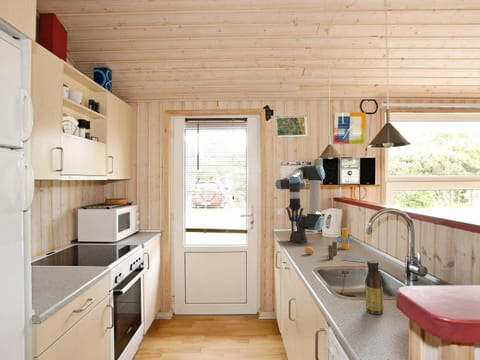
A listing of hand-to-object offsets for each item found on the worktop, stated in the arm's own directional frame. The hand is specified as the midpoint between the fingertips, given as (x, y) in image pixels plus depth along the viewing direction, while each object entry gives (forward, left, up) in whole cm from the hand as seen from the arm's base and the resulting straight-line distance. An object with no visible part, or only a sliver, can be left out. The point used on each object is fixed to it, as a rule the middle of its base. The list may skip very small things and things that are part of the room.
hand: (295, 230), depth 223 cm
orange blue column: (-31, +29, -16) cm, 46 cm away
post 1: (+6, +26, -16) cm, 31 cm away
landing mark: (0, +40, -16) cm, 43 cm away
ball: (0, +10, -13) cm, 17 cm away
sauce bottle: (+83, +58, -16) cm, 102 cm away
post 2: (-6, +26, -16) cm, 31 cm away
